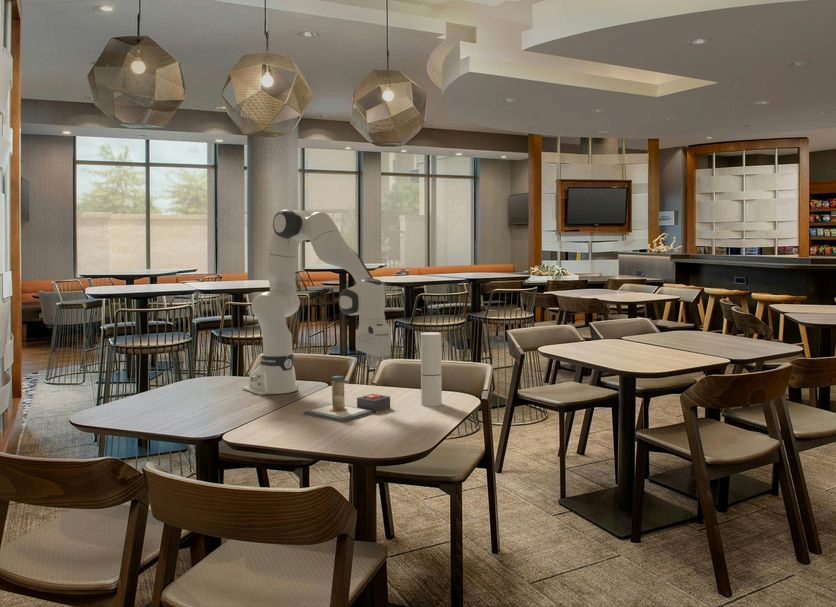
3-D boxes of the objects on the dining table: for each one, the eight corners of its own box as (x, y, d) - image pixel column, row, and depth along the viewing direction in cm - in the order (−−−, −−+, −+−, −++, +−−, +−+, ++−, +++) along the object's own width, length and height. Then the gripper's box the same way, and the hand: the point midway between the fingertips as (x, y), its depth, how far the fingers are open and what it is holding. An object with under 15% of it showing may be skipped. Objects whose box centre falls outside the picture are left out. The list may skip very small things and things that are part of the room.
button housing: (357, 409, 226) (357, 397, 226) (372, 405, 233) (372, 393, 232) (374, 412, 221) (374, 400, 221) (390, 408, 228) (390, 396, 227)
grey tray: (304, 414, 220) (304, 410, 220) (334, 406, 232) (334, 402, 231) (343, 422, 210) (343, 418, 209) (372, 413, 221) (372, 409, 221)
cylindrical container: (442, 401, 236) (441, 332, 234) (441, 406, 229) (440, 334, 227) (422, 401, 237) (421, 332, 235) (420, 406, 230) (419, 334, 228)
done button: (364, 405, 226) (364, 396, 226) (373, 402, 230) (372, 394, 230) (374, 406, 224) (374, 398, 223) (383, 404, 227) (383, 395, 227)
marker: (329, 410, 220) (329, 377, 219) (338, 407, 223) (337, 375, 223) (338, 411, 218) (337, 378, 217) (347, 409, 221) (346, 376, 220)
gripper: (351, 323, 232) (351, 363, 233) (376, 330, 214) (376, 372, 216) (367, 323, 235) (367, 361, 236) (394, 329, 217) (394, 370, 219)
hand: (372, 367), depth 226 cm, fingers closed
